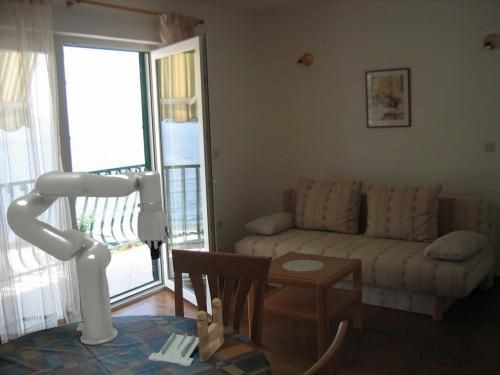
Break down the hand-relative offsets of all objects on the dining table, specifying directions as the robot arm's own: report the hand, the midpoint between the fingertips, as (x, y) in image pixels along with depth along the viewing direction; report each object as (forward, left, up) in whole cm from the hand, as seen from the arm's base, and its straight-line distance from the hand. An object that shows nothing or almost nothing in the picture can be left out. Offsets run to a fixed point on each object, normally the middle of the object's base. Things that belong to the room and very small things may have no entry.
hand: (155, 258), depth 176 cm
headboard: (+24, -9, -27) cm, 37 cm away
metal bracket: (+14, -13, -28) cm, 34 cm away
